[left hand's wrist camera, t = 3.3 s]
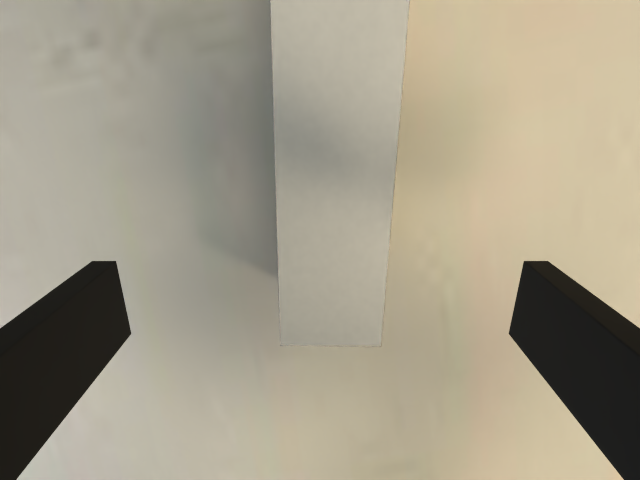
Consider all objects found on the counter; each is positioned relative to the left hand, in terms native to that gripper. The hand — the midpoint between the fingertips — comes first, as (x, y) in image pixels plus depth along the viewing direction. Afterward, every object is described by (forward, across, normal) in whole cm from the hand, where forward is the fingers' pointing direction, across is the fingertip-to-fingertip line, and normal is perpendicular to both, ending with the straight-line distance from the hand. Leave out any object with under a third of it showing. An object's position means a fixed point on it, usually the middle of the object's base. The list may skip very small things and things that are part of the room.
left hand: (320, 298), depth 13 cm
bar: (+15, -1, -25) cm, 29 cm away
